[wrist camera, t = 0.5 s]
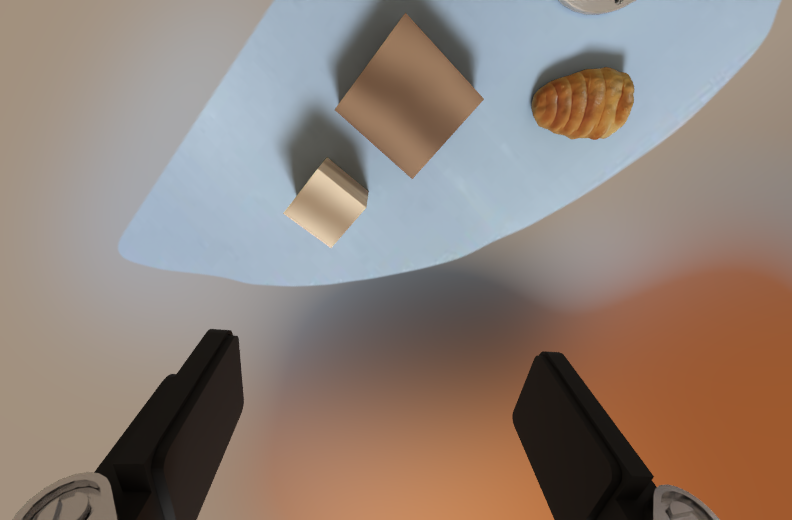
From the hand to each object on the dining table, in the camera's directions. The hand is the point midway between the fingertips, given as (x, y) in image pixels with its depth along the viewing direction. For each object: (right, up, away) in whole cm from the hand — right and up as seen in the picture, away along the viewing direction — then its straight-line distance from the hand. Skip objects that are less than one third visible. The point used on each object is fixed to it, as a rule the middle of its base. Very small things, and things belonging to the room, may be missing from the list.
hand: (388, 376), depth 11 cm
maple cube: (-7, +11, +29) cm, 32 cm away
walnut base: (+1, +20, +25) cm, 32 cm away
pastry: (+20, +20, +26) cm, 38 cm away
